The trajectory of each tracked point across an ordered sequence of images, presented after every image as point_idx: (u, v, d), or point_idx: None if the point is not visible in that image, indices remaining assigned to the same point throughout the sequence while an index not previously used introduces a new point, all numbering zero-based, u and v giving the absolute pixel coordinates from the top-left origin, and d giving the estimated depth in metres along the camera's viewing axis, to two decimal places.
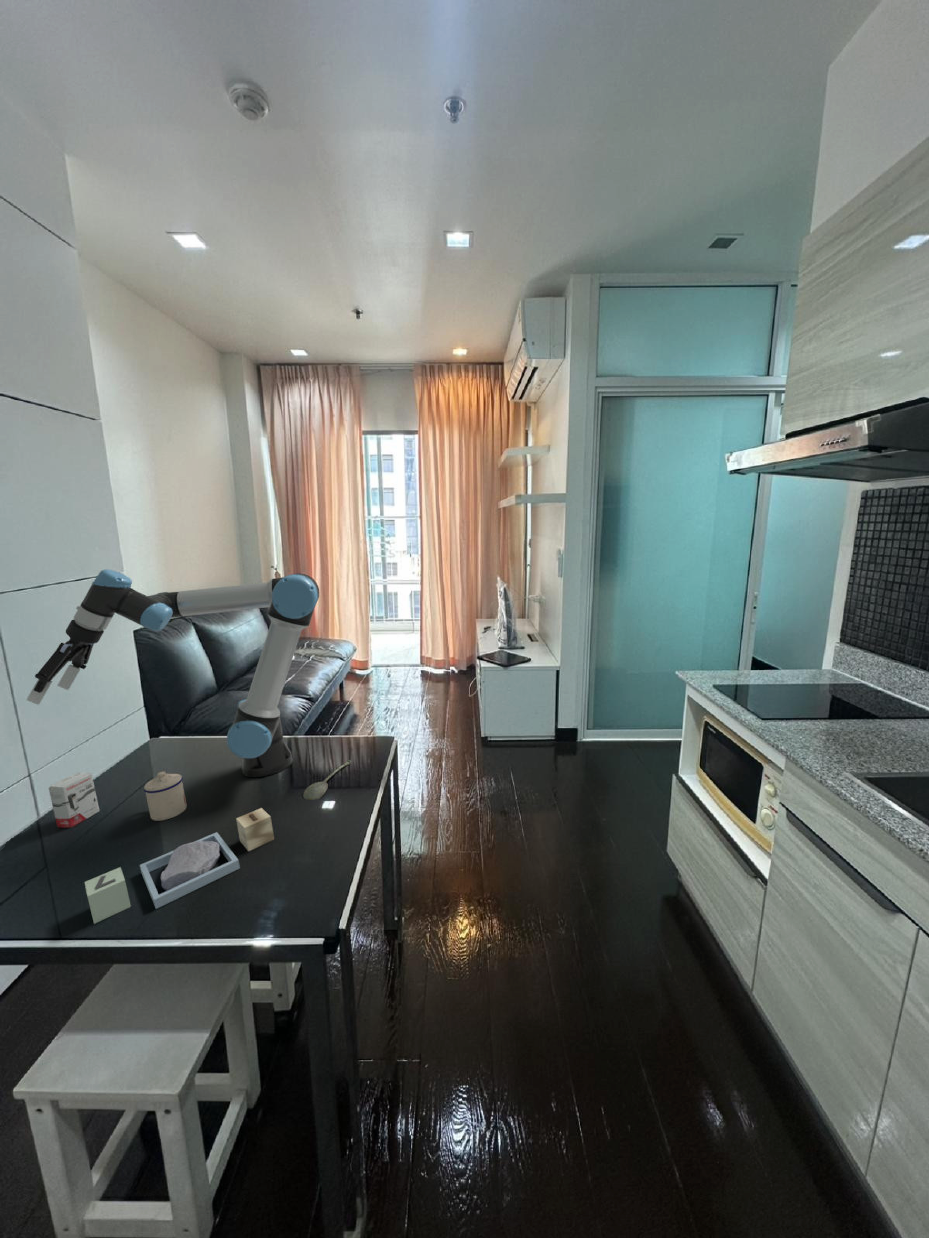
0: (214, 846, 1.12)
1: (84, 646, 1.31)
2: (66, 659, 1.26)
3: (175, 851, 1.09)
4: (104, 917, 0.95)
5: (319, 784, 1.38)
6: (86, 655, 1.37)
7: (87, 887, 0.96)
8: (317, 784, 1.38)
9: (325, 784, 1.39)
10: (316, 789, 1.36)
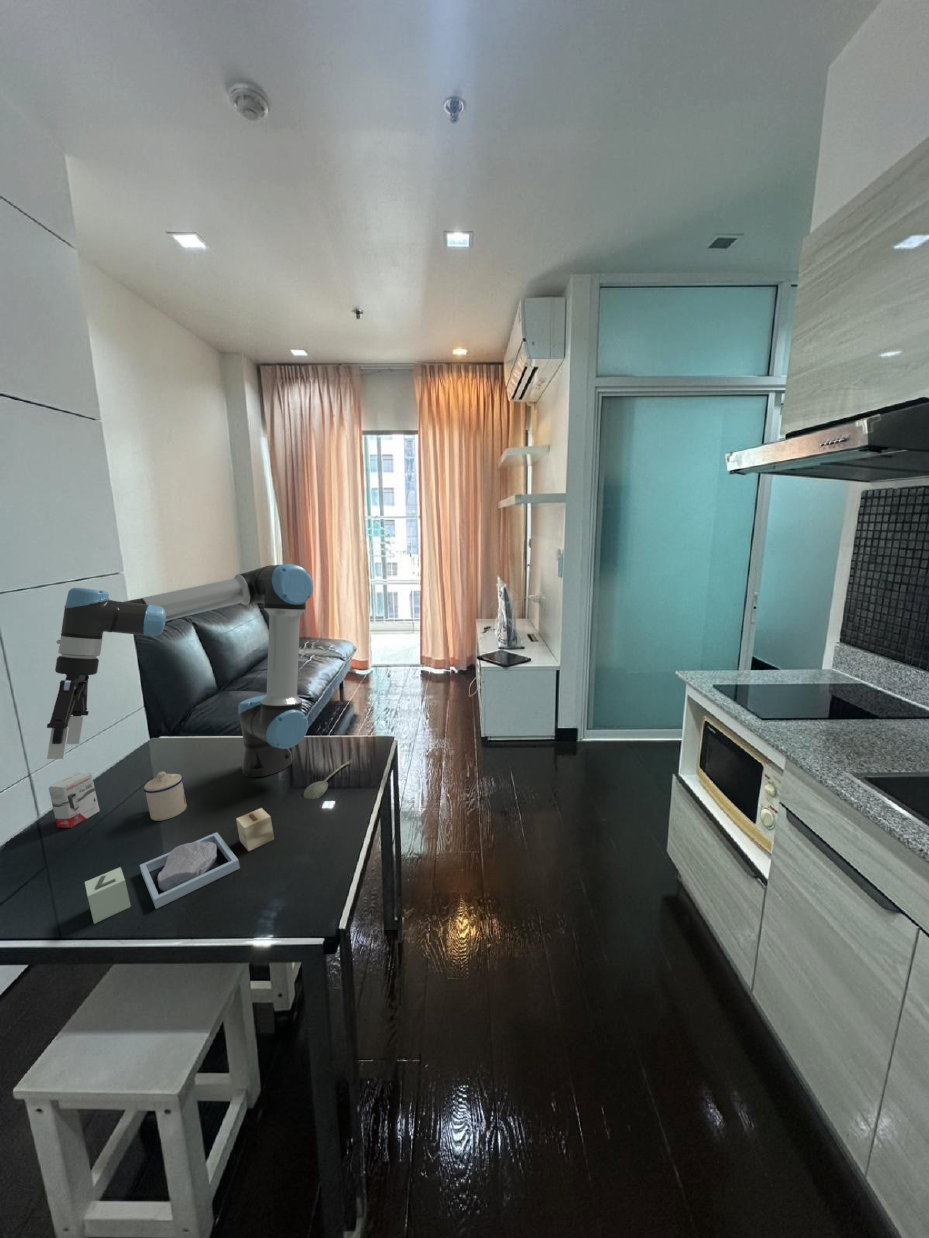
0: (211, 847, 1.12)
1: (83, 683, 1.12)
2: (72, 699, 1.07)
3: (172, 852, 1.09)
4: (104, 917, 0.95)
5: (319, 783, 1.39)
6: (84, 699, 1.17)
7: (87, 887, 0.96)
8: (317, 783, 1.39)
9: (325, 783, 1.39)
10: (317, 788, 1.37)
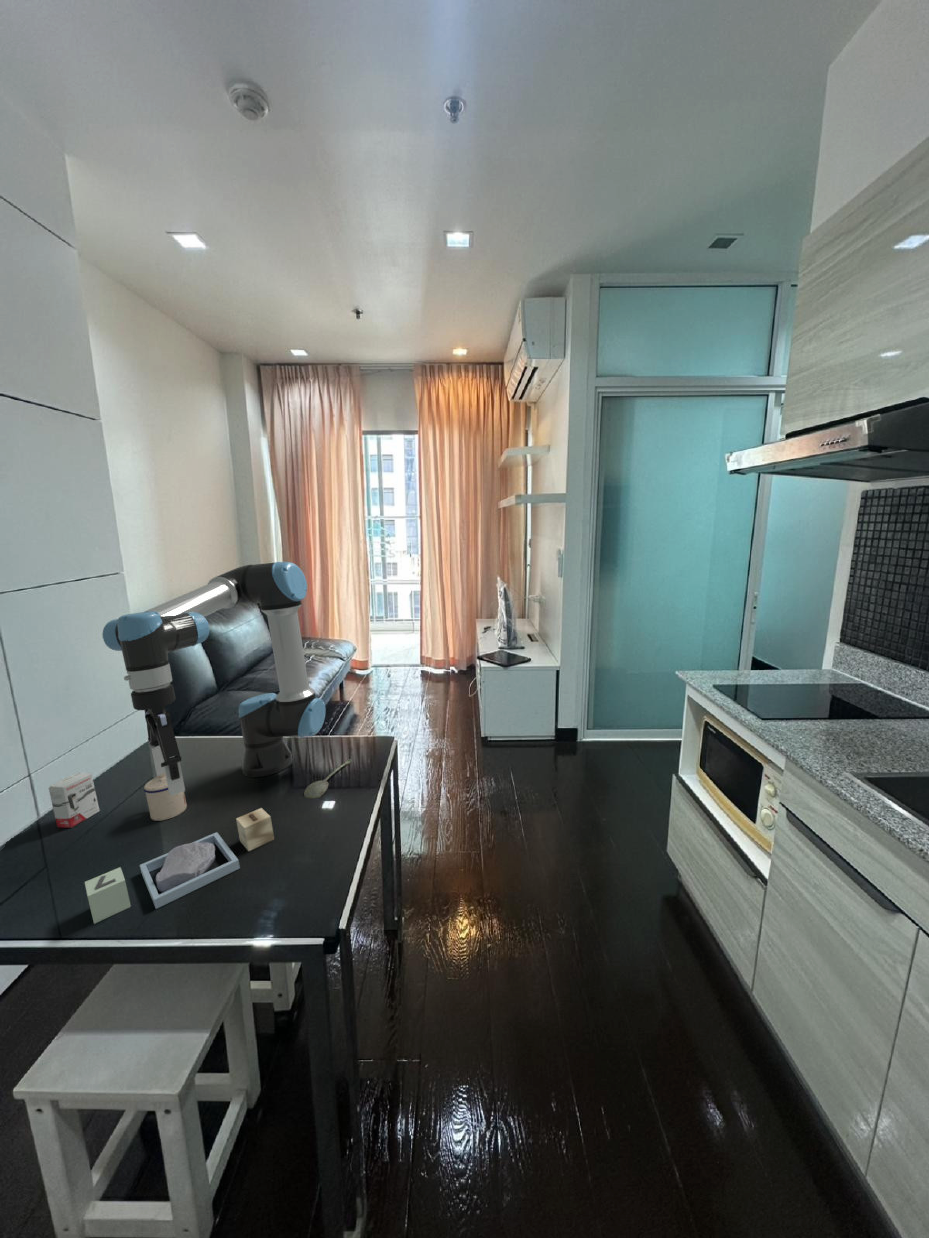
0: (209, 847, 1.12)
1: None
2: None
3: (170, 853, 1.09)
4: (104, 917, 0.95)
5: (320, 783, 1.39)
6: None
7: (87, 887, 0.96)
8: (318, 783, 1.39)
9: (326, 783, 1.40)
10: (317, 788, 1.37)
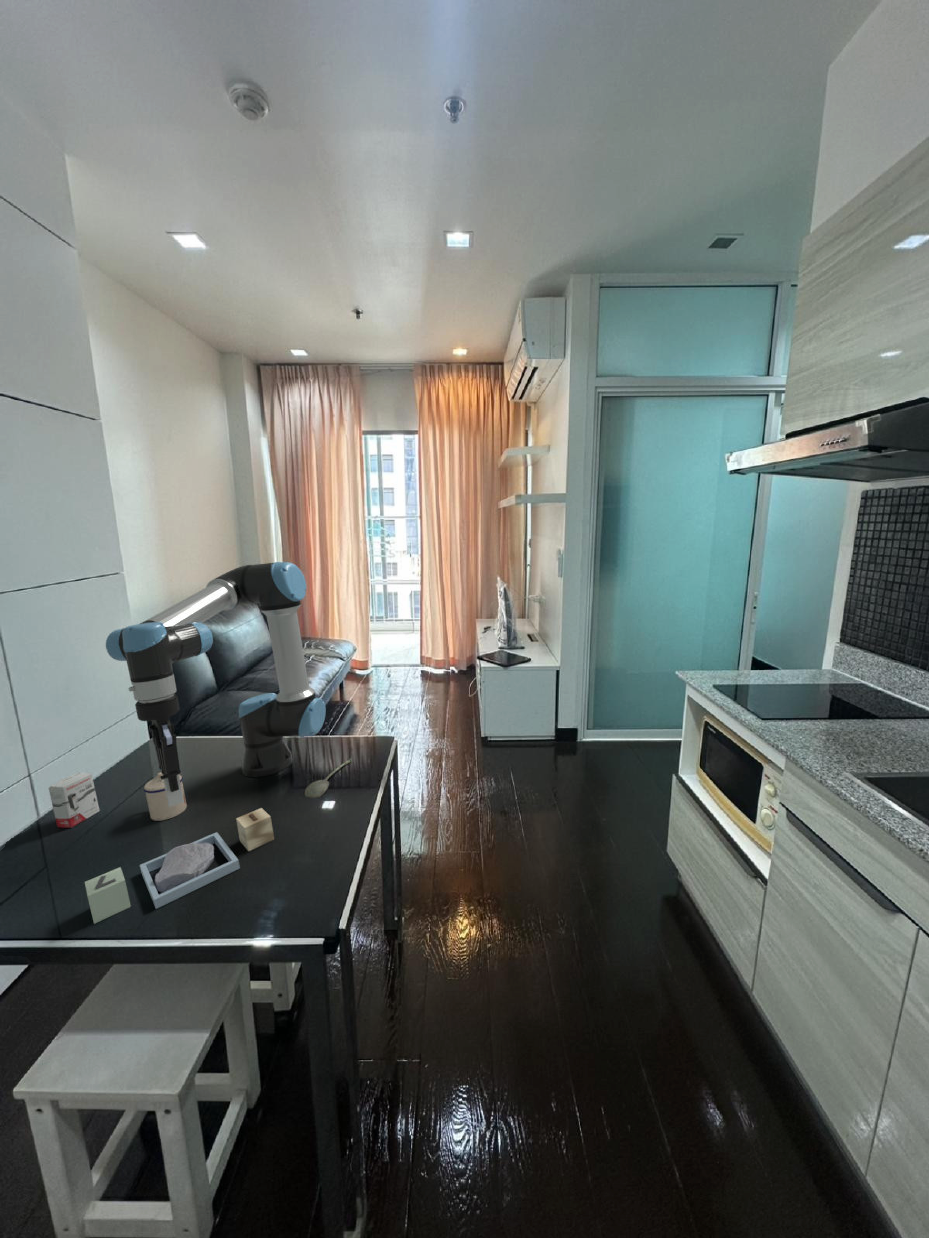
0: (208, 848, 1.12)
1: None
2: None
3: (169, 853, 1.09)
4: (104, 917, 0.95)
5: (320, 782, 1.39)
6: None
7: (87, 887, 0.96)
8: (318, 782, 1.39)
9: (326, 782, 1.40)
10: (318, 787, 1.37)
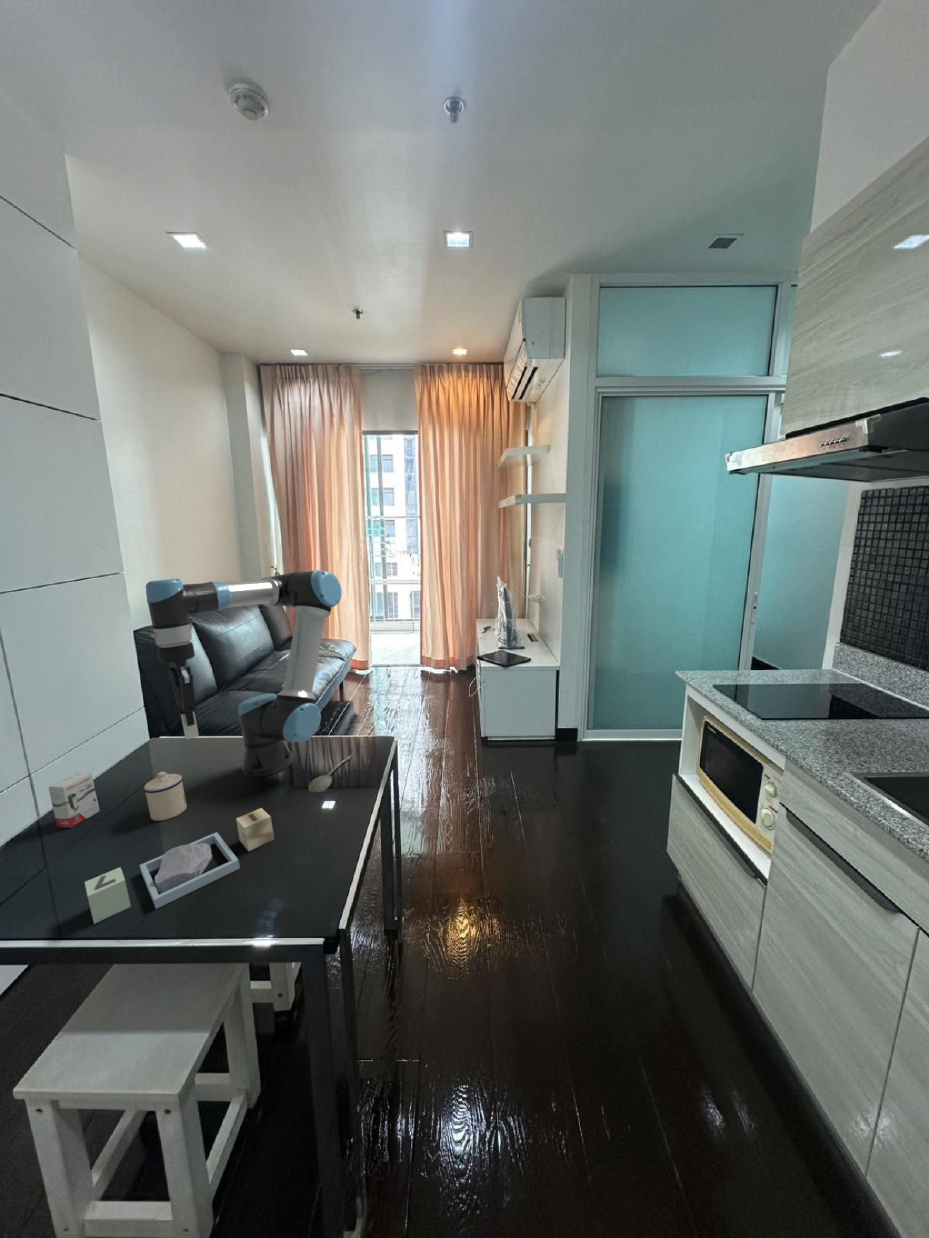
0: (205, 848, 1.12)
1: None
2: None
3: (165, 855, 1.08)
4: (104, 917, 0.95)
5: (323, 777, 1.42)
6: None
7: (87, 887, 0.96)
8: (322, 777, 1.42)
9: (329, 777, 1.43)
10: (321, 782, 1.40)
